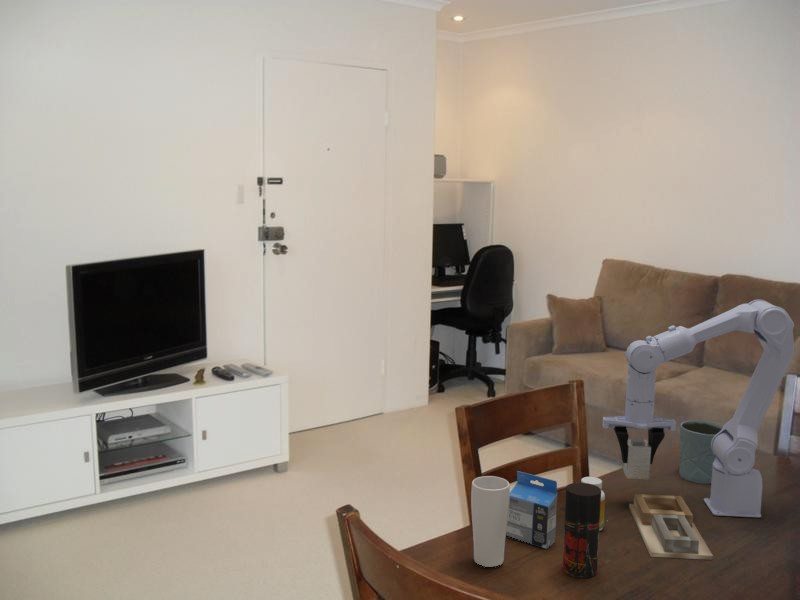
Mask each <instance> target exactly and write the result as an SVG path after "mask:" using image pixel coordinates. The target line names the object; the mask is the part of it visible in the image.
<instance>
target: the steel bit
mask: <svg viewBox="0 0 800 600" xmlns="http://www.w3.org/2000/svg"><path fill="white" fill-rule="evenodd" d="M650 456H651V446H650V444H649V443H648V439H644V438H641V437H640V438H638V437H631V438H628V444H627V463H623V466H622V467H623V470H622V471H623V473H624V475H625V477H626V479H633V480H634V479H635V480H650V472H651V471H650V470H651V464H650Z"/></svg>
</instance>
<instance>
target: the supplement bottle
mask: <svg viewBox="0 0 800 600" xmlns="http://www.w3.org/2000/svg"><path fill="white" fill-rule="evenodd" d="M580 483H588V484H592V485H595V486H597V487H599V488H600V489H601V505H600V524H599V532H600V531H603V529H604V526H605V525H604V523H605V507H606V506H605V505H606V503H605V502H606V495H605V492H604V491H603V490H602V489H603V480H602V479H600V477H599V478H598V477H595V476H585V477H582V478H581V480H580Z"/></svg>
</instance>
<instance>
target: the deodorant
mask: <svg viewBox="0 0 800 600" xmlns="http://www.w3.org/2000/svg"><path fill="white" fill-rule="evenodd" d="M601 490H602V488H601V489H600V488H599V487H597V486H595V485H592V484H588V483H581V482H573V483H570V484H567V485H566V487H565V505H564V506H565V510H564V526H563V527H564V530H563V552H562V570H564V571H565V572H566V573H567V575H568V574H570V575H572V576H571V577H573V576H574V577H573V578H576V577H577V579H578V578H579V579H589V578H590V579H591V578H593V577H595V576H596V575H597V574H598V563H599V562H598V559H599V542H600V531H599V524H600V505H601ZM564 571H563V572H564ZM565 572H564V573H565ZM566 573H565V574H566ZM570 575H569V576H570Z"/></svg>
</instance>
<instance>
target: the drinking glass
mask: <svg viewBox="0 0 800 600" xmlns="http://www.w3.org/2000/svg"><path fill="white" fill-rule="evenodd" d="M510 488H511V487H510V482H509V481H508V480H507V479H505V478H504V477H500V476H494V475H485V476H484V475H483V476H478V477H475V478H474V479H473V480H472V482H471V490H470V491H471V494H470V495H471V496H470V505H471V506H470V507H471V521H472V523H471V524H472V535H473V536H472V538H473V541H472V542H473V561H474V562H475V564H476V563H477V565H478V564H479V565H482V566H485V567H493V566H498V565H500V566H501V565H502V564H503V563H504V559H505V547H506V546H505V545H506V538H507V537H506V530H507V522H508V513H509V503H510V492H511V489H510ZM479 565H478V566H479ZM482 566H481V567H482ZM485 567H484V568H485ZM498 567H499V566H498Z"/></svg>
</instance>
